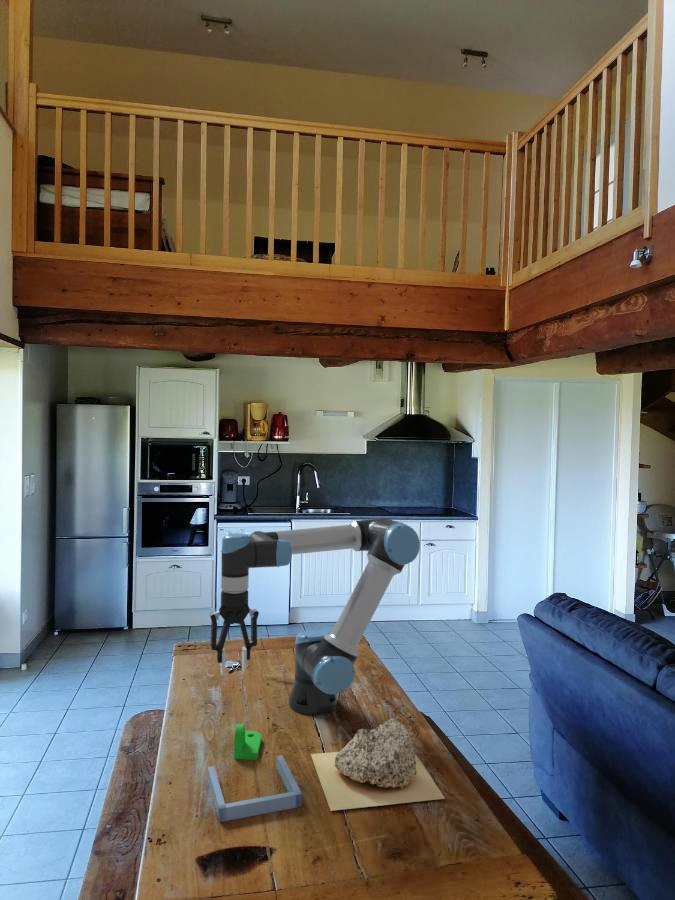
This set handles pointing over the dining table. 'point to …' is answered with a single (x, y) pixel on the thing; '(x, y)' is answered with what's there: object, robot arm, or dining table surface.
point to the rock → (375, 770)
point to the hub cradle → (257, 804)
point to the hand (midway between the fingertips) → (233, 672)
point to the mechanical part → (246, 743)
